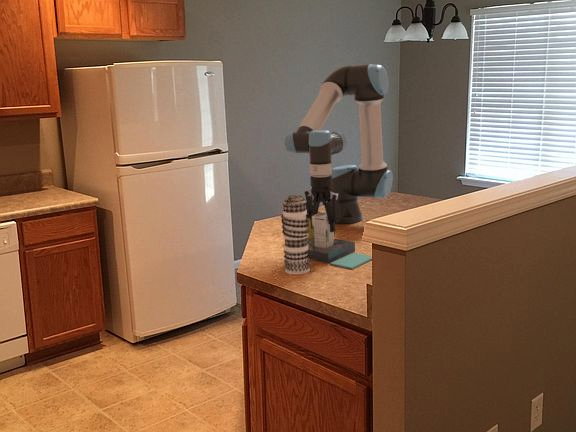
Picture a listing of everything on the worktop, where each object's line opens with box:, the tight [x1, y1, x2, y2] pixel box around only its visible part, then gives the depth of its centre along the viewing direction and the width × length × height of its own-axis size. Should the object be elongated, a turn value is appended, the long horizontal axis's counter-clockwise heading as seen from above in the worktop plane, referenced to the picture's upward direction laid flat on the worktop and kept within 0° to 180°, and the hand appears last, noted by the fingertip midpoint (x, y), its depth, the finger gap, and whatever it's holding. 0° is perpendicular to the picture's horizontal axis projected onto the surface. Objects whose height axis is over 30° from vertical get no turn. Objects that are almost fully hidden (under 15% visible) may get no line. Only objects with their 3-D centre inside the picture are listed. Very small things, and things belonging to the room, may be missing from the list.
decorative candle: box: [280, 194, 311, 275], centre depth 208 cm, size 9×9×25 cm
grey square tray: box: [307, 237, 356, 264], centre depth 226 cm, size 16×16×4 cm
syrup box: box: [312, 211, 334, 249], centre depth 225 cm, size 6×6×14 cm
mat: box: [329, 252, 372, 270], centre depth 216 cm, size 14×9×1 cm, turn 140°
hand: (323, 239), depth 226 cm, fingers closed on syrup box, 6 cm apart
